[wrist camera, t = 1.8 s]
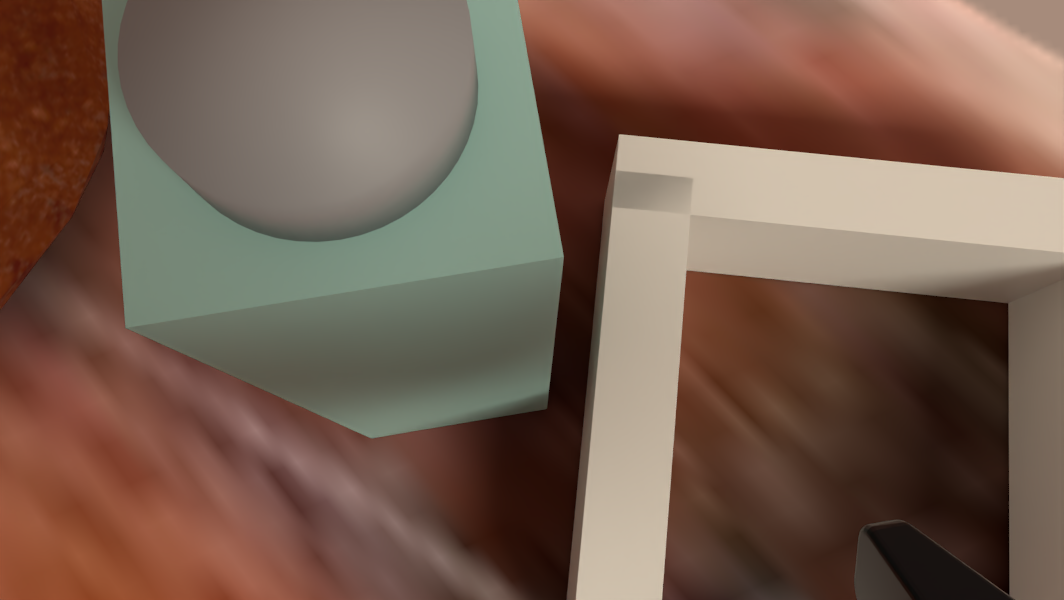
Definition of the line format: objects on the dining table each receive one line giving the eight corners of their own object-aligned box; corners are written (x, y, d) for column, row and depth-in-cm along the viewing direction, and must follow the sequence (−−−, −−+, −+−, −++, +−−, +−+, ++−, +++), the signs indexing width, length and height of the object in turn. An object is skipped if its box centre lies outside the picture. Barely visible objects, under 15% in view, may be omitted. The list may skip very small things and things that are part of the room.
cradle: (1081, 714, 20) (1215, 764, 16) (561, 655, 20) (567, 688, 16) (1072, 247, 22) (1187, 190, 18) (604, 200, 22) (619, 134, 18)
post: (547, 408, 21) (567, 224, 8) (371, 438, 21) (72, 303, 7) (518, 240, 22) (490, -195, 8) (349, 268, 22) (46, -131, 8)
